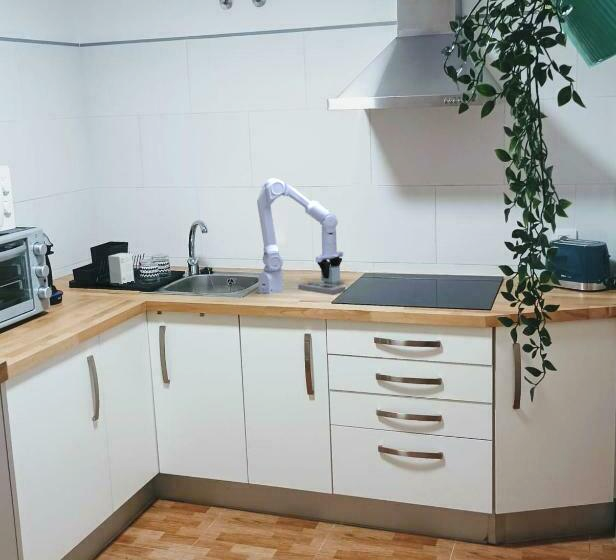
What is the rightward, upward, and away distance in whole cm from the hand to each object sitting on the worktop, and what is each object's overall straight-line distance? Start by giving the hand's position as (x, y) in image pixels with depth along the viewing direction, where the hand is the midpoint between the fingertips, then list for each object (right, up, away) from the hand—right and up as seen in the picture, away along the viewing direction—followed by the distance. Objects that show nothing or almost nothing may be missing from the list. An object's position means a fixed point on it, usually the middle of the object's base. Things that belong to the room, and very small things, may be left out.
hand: (330, 277), depth 320 cm
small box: (-87, -3, +20) cm, 90 cm away
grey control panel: (-4, -6, -8) cm, 10 cm away
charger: (0, -3, 0) cm, 3 cm away
